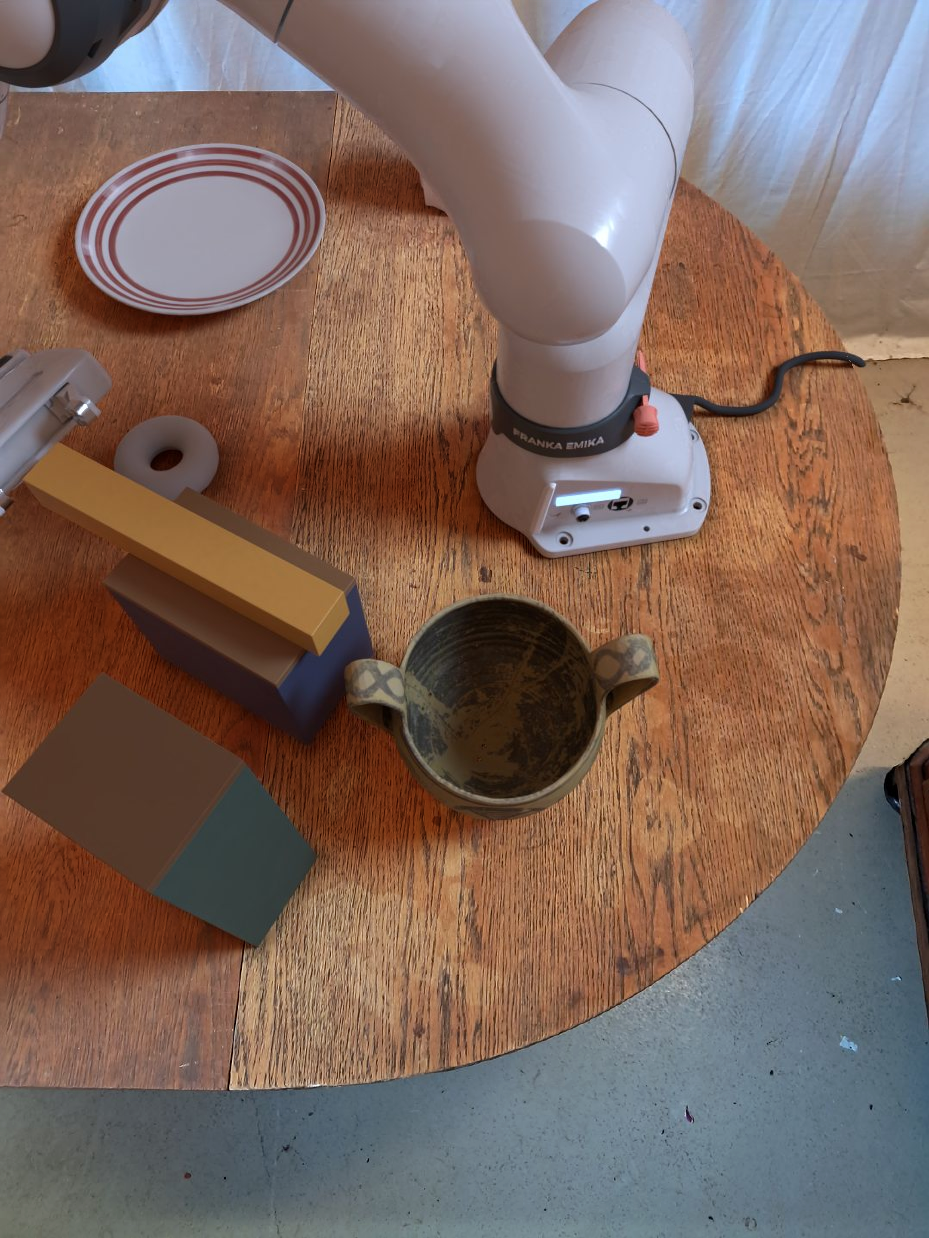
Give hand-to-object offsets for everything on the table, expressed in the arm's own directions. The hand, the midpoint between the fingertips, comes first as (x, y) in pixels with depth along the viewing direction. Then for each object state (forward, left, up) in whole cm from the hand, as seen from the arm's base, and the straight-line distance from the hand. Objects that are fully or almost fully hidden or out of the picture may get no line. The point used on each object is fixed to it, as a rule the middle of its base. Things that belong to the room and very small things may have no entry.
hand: (45, 455), depth 66 cm
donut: (-2, -12, -19) cm, 22 cm away
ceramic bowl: (-34, +15, -19) cm, 41 cm away
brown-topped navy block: (-14, +8, -19) cm, 24 cm away
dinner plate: (-1, -43, -19) cm, 47 cm away
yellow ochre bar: (-10, +6, -5) cm, 13 cm away
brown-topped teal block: (-13, +26, -19) cm, 35 cm away
